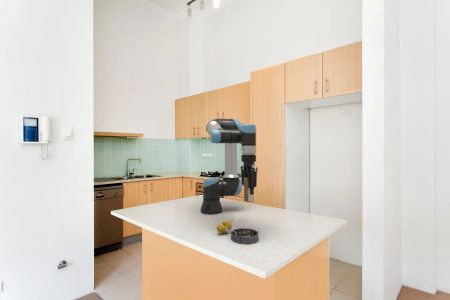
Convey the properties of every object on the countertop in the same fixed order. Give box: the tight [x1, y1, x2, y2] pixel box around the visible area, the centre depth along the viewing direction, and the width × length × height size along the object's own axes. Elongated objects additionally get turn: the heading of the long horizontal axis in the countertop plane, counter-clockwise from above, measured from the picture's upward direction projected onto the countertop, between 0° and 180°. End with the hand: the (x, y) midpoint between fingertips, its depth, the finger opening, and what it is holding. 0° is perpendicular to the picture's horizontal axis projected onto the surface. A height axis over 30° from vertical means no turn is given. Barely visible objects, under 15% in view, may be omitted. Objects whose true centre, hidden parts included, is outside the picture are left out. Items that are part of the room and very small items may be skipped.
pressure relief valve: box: [216, 220, 237, 236], centre depth 124 cm, size 6×12×10 cm
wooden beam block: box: [243, 177, 254, 203], centre depth 125 cm, size 4×4×12 cm
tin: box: [230, 227, 260, 245], centre depth 117 cm, size 13×13×3 cm
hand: (248, 199), depth 125 cm, fingers closed on wooden beam block, 3 cm apart
